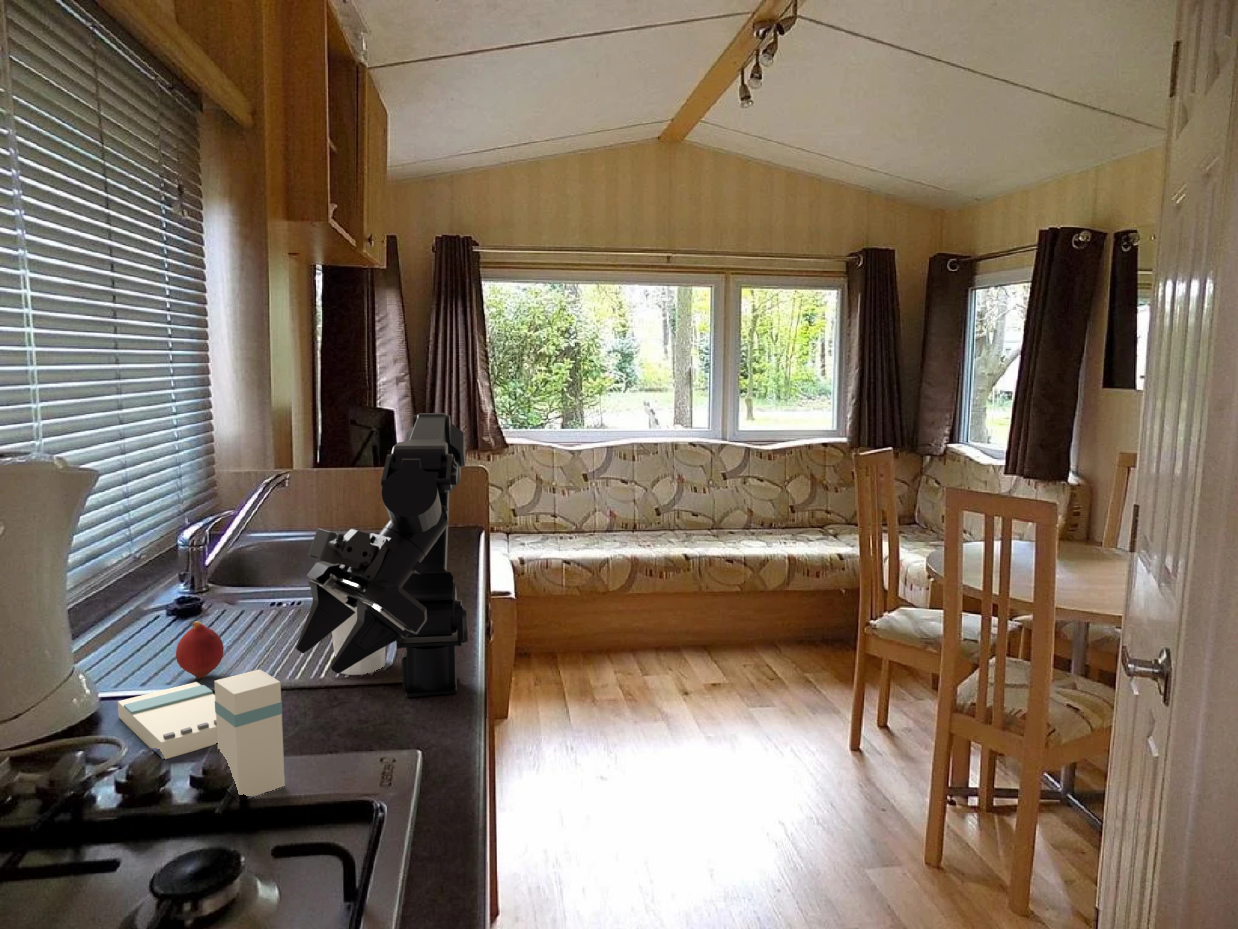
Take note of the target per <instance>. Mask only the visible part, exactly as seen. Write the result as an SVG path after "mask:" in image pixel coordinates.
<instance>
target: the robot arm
mask: <svg viewBox="0 0 1238 929" xmlns="http://www.w3.org/2000/svg"><path fill="white" fill-rule="evenodd" d="M412 419H413V420H412V424H413V425H412V426H411V428H409V429H408V430H407V431H406V434H405V440H404V441H399V442H397V443H396V444H395V445H393V447H392V450H391V454H386V458H385V462H384V466H383V467H384V468H383V471H382V476H381V480H380V486H381V497H382V498H381V499H382V502H383V504H384V507H385V509H386V512H387V515H388V517H389V521H388V522H387V523H386V524H385V526H384V527H383V528H382V529H381V530H380V532H379V533H377V534H376V533H374V532H371V533H367V532H363V531H361V530H357V529H354V528H350V529H349V530H348V531H347V532H346V533H345V534H344V535H342V534H340V533H336V532H332V531H329V530H325V529H322V528H317V529H316V532H315V534H314V537H313V539H312V540H313V541H312V543H311V546H310V548H309V551H308V554H307V556H308V557H310V558H314V559H317V560H319V561H318V562H316V563H314V565H313V566H312V568H311V569H310V570H309V571H308V573H307V574H306V577H307V578H309V579H310V580H308V587H309V588H310V592H311V596H312V603H311V607H310V608H309V612H308V615H307V616H306V620H305V623H304V626H303V627H302V629H301V630H302V631H301V633H300V635H299V638H298V641H297V643H296V646H295V649H296V650H297V652H300V653H301V654H305V653H307V652H308V651H310V650H311V649H312V648H314V647H315V646H316V645H317V644H319V642H321V641H322V640H324V639H325V638H326V637H327V636H328V635H329V634H332V631H333V630H335V629H336V628H337V627H338V626H340V625H341V624H342V623H343V622H345V621H346V620H347V619H348V618H349V617H351V616H352V615H353V614H354V613H355V611H353V610H352V609H351V608H349V607H348V606H351V607H353V608H355V607H357V621H356V623H355V625H354V627H353V628H352V630H351V632H350V633H349V635H348V637H347V638H346V640H345V642H344V643H343V645H342V647H341V648H340V650H339V652H338V653H337V655H336V657H335V656H334V659H333V661H332V663H331V665H330V668H329V669H330V670H331V671H332V672H334V673H336V674H341V672H342V671H344V670H346V669H347V668H349V667H351V666H352V665H354V664H356V663H357V662H359V661H361V660H362V659H364V658H366V657H367V656H369V655H371V654H372V653H374V652H376V651H378V650H379V649H381V648H383V647H385V646H386V647H388V646H389V645H390V644H391V645H392V643H395V644H396V649H397V650H398V649H399V650H401V649H404V648H405V650H404V651H403V652H402V656H401V677H402V678H401V680H402V681H401V682H402V688H403V689H405V697H406V698H411V697H415V698H416V697H423V696H424V697H426V696H438V695H439V696H440V695H441V696H442V695H451V694H457V693H458V684H457V683H458V682H457V681H458V680H457V671H456V646H457V647H462V646H463V644H464V643H467V642H468V641H469V629H468V628H469V625H468V624H469V623H468V611H467V610H466V608H465V607H464V605H463V602H462V599H458V597H457V596H458V595H457V593H458V592H457V586H456V585H457V584H456V582H455V581H454V576H453V575H452V572H451V571H447V570H448V569H447V567H448V566H447V565H448V544H449V543H448V542H449V541H448V540H449V517H450V515H449V513H450V494H451V493H452V492H453V491H454V489H456V487H457V486H458V485H459V484H460V483H461V477H462V474H461V473H462V468H465V467H466V443H465V433H464V431H462V430H461V429H460V428H459V427H457V426H456V425H454V424H453V423H452V421H451V420H452V419H451V415H449V414H446V413H445V412H438V413H437V412H432V413H428V412H426V413H425V412H423V413H421V412H420V413H417V414H414V415H413V418H412ZM364 602H365V603H364ZM366 603H367V604H366ZM345 604H346V605H345ZM368 604H370V605H372V606H370V605H368ZM347 605H348V606H347Z"/></svg>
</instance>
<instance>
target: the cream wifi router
mask: <svg viewBox="0 0 1238 929" xmlns="http://www.w3.org/2000/svg"><path fill="white" fill-rule="evenodd" d="M117 710H118V718H119V719H120V720H121V721H122V722H123V723H124V724H125V725H126V727H128V728H129V729H130V730H131V731H132V732H133V733H134V734H135V736H137V737H139V738H140V740H141V741H142V742H144V744H145V745H146V746H148V748H150V749H151V748H157V749H160V751H161V752H162V754H163V755H164V758H165V760H167V759H171V758H174V757H178V756H181V755H184V754H188V753H191V752H194V751H197V750H201V749H204V748H208V747H210V746H214V745H217V744H216V743H217V723H216V713H215V693H214V692H213V690H212V689H210V688H209V687H208V686H206V685H205V684H200V683H199V682H197V681H194V682H191V683H186V684H183V685H178V686H175V687H171V688H166V689H163V690H162V689H161V690H157V691H155V692H150V693H146V694H142V695H138V696H137V695H136V696H134V697H130V698H126V699H122V700H118V701H117Z"/></svg>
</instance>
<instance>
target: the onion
mask: <svg viewBox="0 0 1238 929" xmlns="http://www.w3.org/2000/svg"><path fill="white" fill-rule="evenodd" d="M191 625H192V628H191V629H190V630H188V631H187V632H186V633H184V634H183V635H182V637H181V638H180V639H179V641H178V643H177V645H176V649H175V658H176V662H177V664H178V665H179V667H180V668H181V669H183V670H184V671H185V672H187V673H189V674H191V675H192V676H194V677H195V678H196V679H203V678H205V677H207V676H208V675H209V674H210V673H211V672H212V671H214V670H215V669H216V668H217V667H218V666H219V665H220V664H221V661H222V660H223V657H224V651H225V650H224V649H225V648H224V644H223V641H222V639H221V637H220V635H219V634H218V633H217V632H216V631H215V630H213V629H211V628H210V627H208V626H206V625H205V624H203V623H202V622H200V621H197V620H195V621H193V622H192V624H191Z"/></svg>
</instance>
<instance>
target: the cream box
mask: <svg viewBox="0 0 1238 929" xmlns="http://www.w3.org/2000/svg"><path fill="white" fill-rule="evenodd" d="M213 683H214V695H215V713H216V723H217V743H218V744H217V750H218V749H220V752H221V753H222V754H223V756H224V757H225V759H226V760H227V763H228V766H229V767H230V770H231V773H232V777H233V779H234V781H235V784H236V787H237V790H238V794H239V795H243V794H244V795H246V796H253V795H254V796H255V795H258V794H261V793H264V792H267V791H272V790H274V791H276V790H275V789H276V788H279V787H282V786H285V787H286V783H285V782H286V781H285V762H284V761H285V760H284V758H285V757H284V734H283V702H282V689H281V688H282V687H281V686H282V685H281V684H282V683H281V681H280V680H278V679H277V678H274V677H273V676H271V675H270V674H268V673H267V672H265V671H263V670H262V669H257V670H256V669H255V670H251V671H248V672H244V673H239V674H236V675H232V676H228V677H223V678H219V679H216V680H214V682H213ZM272 792H273V791H272Z"/></svg>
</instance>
